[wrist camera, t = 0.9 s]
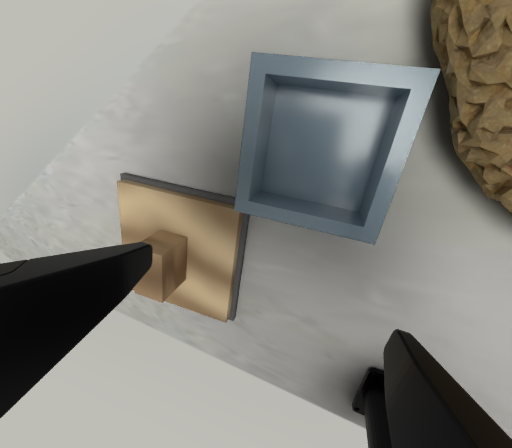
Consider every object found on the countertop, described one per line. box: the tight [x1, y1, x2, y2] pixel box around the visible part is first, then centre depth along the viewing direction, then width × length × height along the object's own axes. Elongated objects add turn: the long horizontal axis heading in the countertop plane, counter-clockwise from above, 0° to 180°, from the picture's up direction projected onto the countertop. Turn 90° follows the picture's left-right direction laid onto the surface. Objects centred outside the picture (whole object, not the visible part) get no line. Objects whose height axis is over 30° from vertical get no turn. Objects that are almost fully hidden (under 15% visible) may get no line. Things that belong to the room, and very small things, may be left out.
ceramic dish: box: [234, 52, 441, 245], centre depth 17 cm, size 10×10×4 cm
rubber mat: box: [120, 173, 250, 321], centre depth 26 cm, size 14×14×1 cm
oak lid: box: [117, 180, 243, 322], centre depth 24 cm, size 13×13×5 cm
